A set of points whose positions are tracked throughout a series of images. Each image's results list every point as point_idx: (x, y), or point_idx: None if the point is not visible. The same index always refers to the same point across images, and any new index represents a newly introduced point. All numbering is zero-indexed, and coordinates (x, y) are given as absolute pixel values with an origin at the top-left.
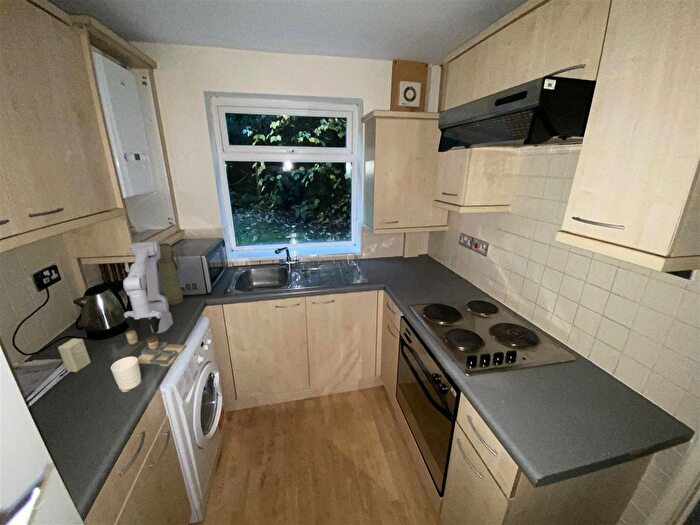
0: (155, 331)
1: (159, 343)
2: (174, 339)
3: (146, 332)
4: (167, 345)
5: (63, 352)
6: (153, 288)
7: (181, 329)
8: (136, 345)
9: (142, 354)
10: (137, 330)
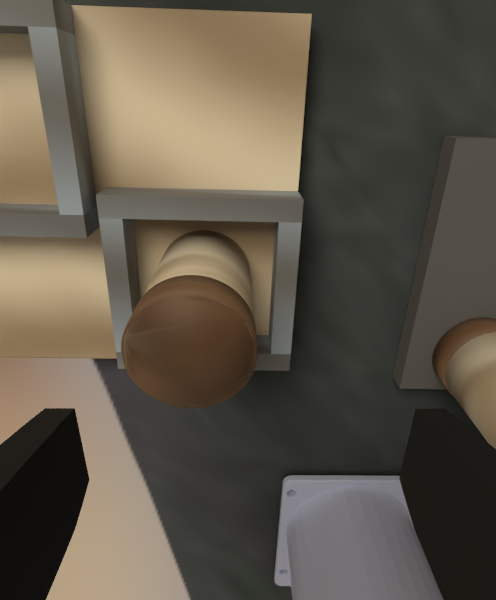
0: (12, 441)
1: None
2: (155, 432)
3: None
4: None
5: None
6: None
7: (190, 537)
8: (437, 334)
9: (287, 190)
10: (437, 454)
